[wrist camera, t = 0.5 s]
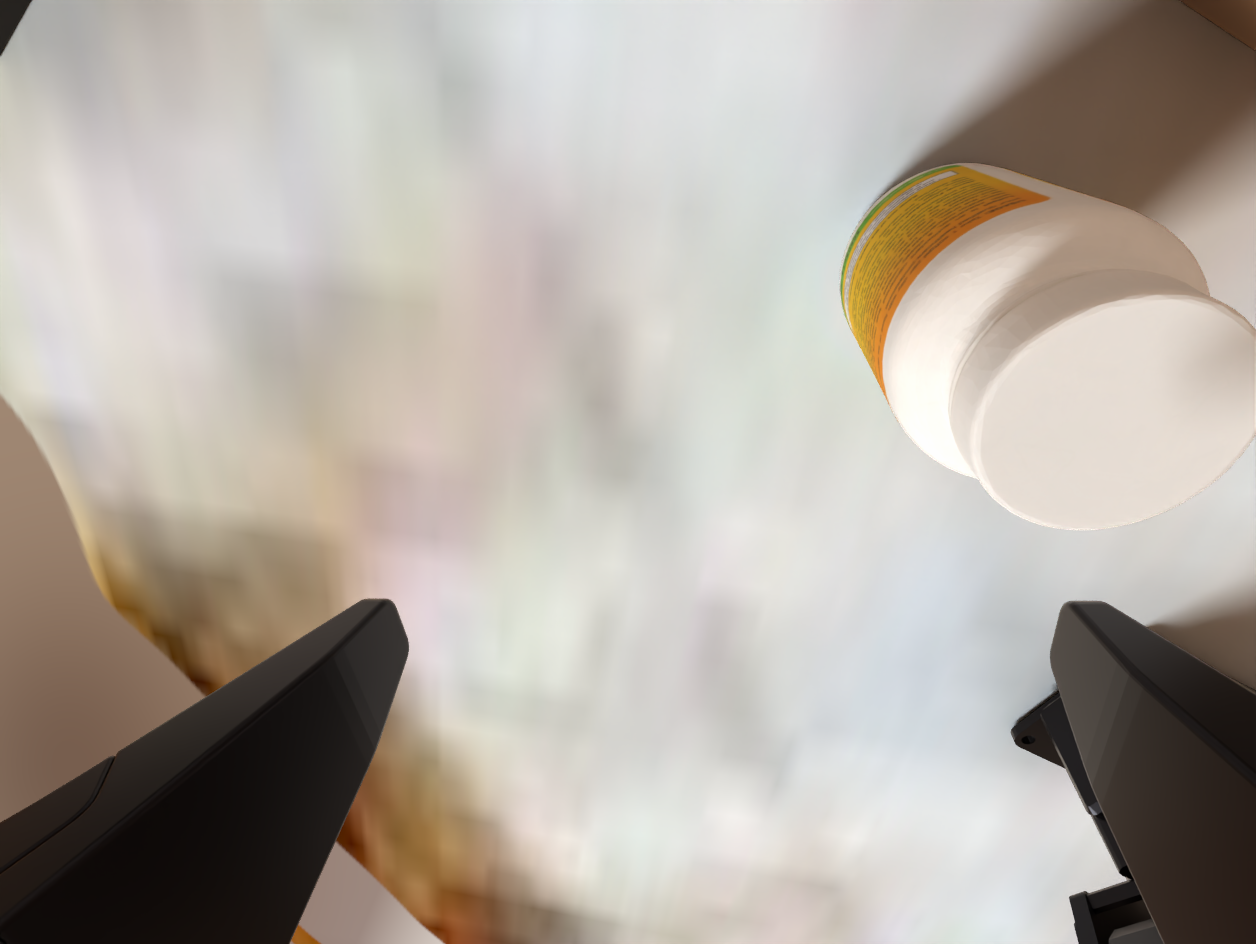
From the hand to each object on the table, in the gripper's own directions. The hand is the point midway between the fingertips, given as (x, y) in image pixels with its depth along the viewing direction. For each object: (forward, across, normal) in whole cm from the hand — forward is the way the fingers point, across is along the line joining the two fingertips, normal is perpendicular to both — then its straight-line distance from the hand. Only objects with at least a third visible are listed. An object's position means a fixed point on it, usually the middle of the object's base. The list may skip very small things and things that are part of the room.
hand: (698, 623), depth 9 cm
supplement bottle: (+13, -6, -1) cm, 14 cm away
